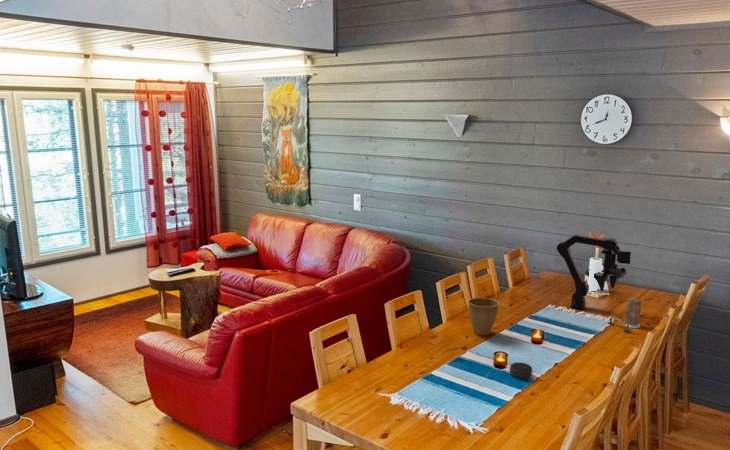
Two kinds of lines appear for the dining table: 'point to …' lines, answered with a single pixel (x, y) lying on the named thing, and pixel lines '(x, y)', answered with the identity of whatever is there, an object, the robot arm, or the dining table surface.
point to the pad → (634, 326)
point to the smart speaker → (521, 370)
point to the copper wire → (619, 322)
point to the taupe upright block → (632, 311)
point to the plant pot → (482, 314)
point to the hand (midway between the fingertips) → (607, 289)
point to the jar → (586, 275)
